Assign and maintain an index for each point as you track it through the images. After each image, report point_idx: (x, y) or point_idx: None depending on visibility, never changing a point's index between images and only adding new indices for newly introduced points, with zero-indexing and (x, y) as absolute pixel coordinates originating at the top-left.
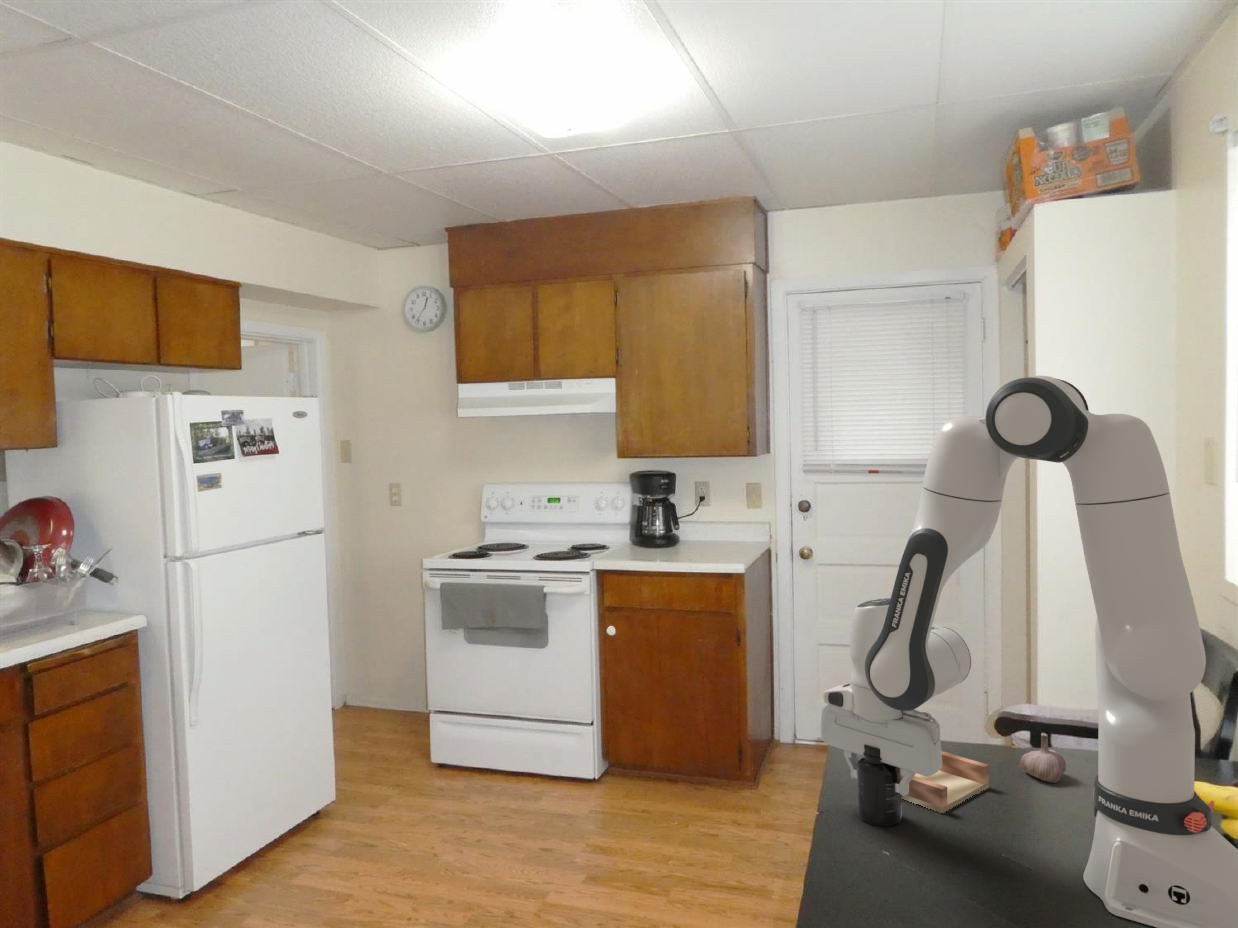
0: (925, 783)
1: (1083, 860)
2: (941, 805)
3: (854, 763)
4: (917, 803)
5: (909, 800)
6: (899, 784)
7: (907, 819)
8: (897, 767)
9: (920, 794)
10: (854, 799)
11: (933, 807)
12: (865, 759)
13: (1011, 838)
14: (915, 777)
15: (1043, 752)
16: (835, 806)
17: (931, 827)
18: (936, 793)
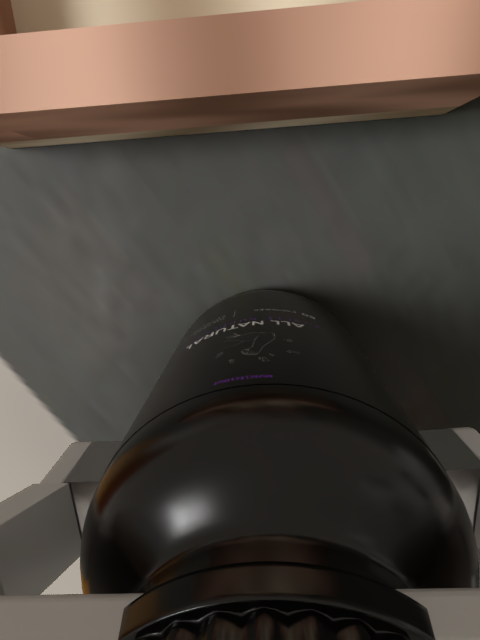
0: (386, 73)
1: None
2: (461, 104)
3: (49, 553)
4: (302, 124)
5: (255, 128)
6: (476, 543)
7: (351, 297)
8: (476, 583)
9: (330, 109)
10: (78, 308)
11: (399, 114)
12: None
13: None
14: (271, 28)
15: None
16: (87, 417)
17: (467, 283)
18: (460, 87)
